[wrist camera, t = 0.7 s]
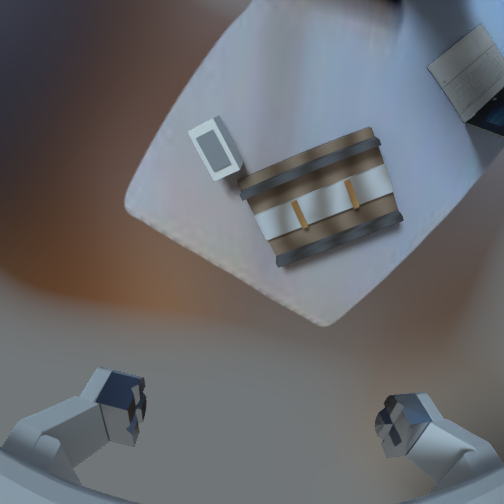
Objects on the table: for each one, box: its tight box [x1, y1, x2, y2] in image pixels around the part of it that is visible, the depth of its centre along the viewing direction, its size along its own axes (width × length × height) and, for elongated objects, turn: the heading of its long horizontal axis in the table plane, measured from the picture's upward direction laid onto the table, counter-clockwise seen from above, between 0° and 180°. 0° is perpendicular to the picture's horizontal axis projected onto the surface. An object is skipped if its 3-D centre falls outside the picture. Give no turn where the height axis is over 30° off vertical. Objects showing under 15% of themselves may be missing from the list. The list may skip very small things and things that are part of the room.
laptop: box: [427, 24, 504, 138], centre depth 30 cm, size 18×12×13 cm
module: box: [188, 116, 243, 181], centre depth 47 cm, size 4×9×5 cm, turn 26°
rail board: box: [238, 127, 404, 268], centre depth 50 cm, size 24×18×4 cm
